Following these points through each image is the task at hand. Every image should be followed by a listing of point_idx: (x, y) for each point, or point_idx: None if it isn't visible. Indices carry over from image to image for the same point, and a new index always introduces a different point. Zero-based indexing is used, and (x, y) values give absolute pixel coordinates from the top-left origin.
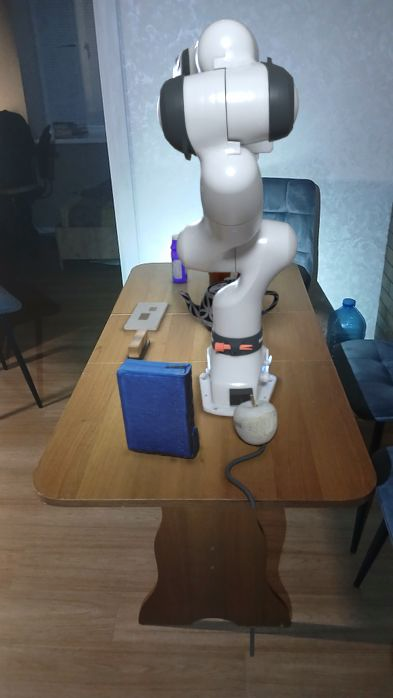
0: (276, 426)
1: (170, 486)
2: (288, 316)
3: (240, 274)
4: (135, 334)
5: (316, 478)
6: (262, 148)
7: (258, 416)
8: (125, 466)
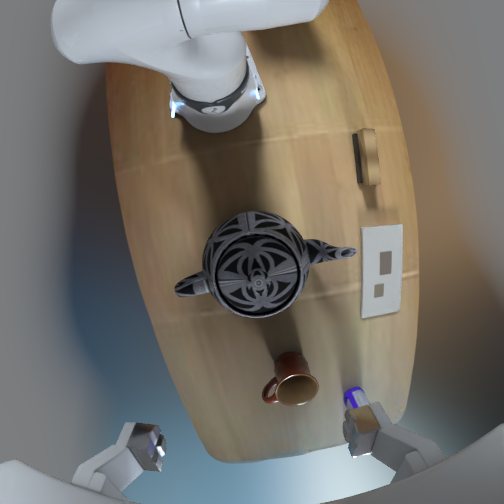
0: None
1: None
2: (175, 303)
3: (262, 393)
4: (379, 168)
5: None
6: (29, 486)
7: None
8: None
